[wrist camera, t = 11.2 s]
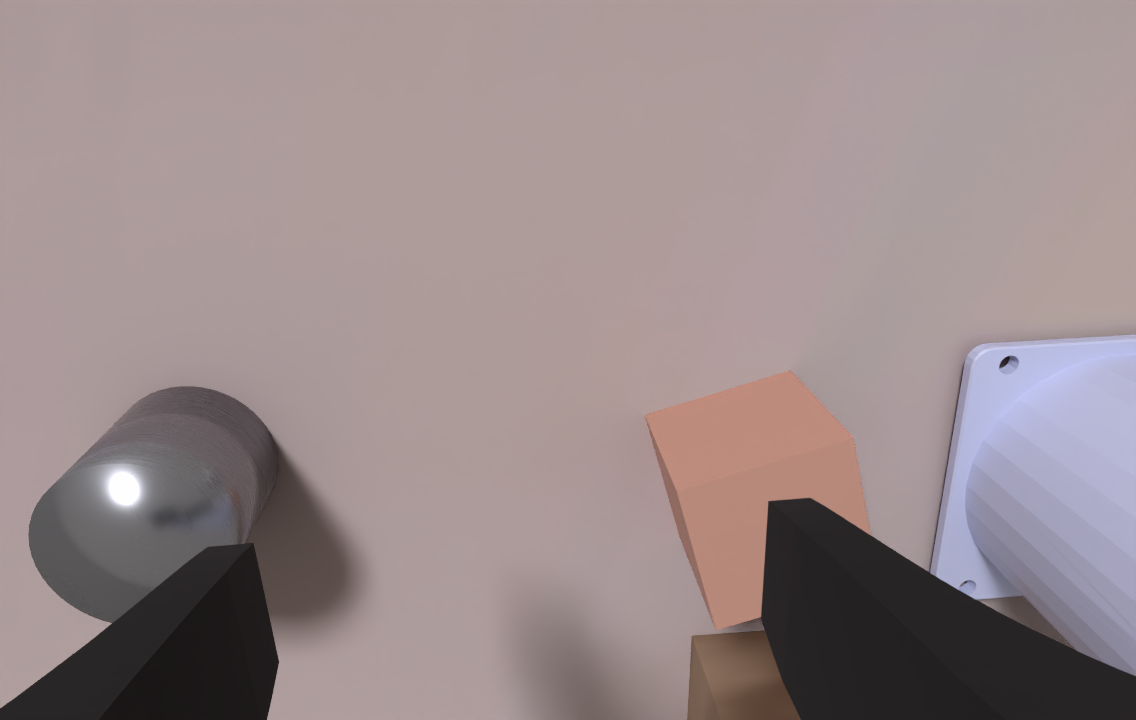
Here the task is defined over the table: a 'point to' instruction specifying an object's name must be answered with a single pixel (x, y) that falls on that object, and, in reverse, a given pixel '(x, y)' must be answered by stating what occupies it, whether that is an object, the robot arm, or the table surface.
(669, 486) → the terracotta block
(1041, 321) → the table surface
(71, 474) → the dark metal cylinder
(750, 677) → the walnut block
